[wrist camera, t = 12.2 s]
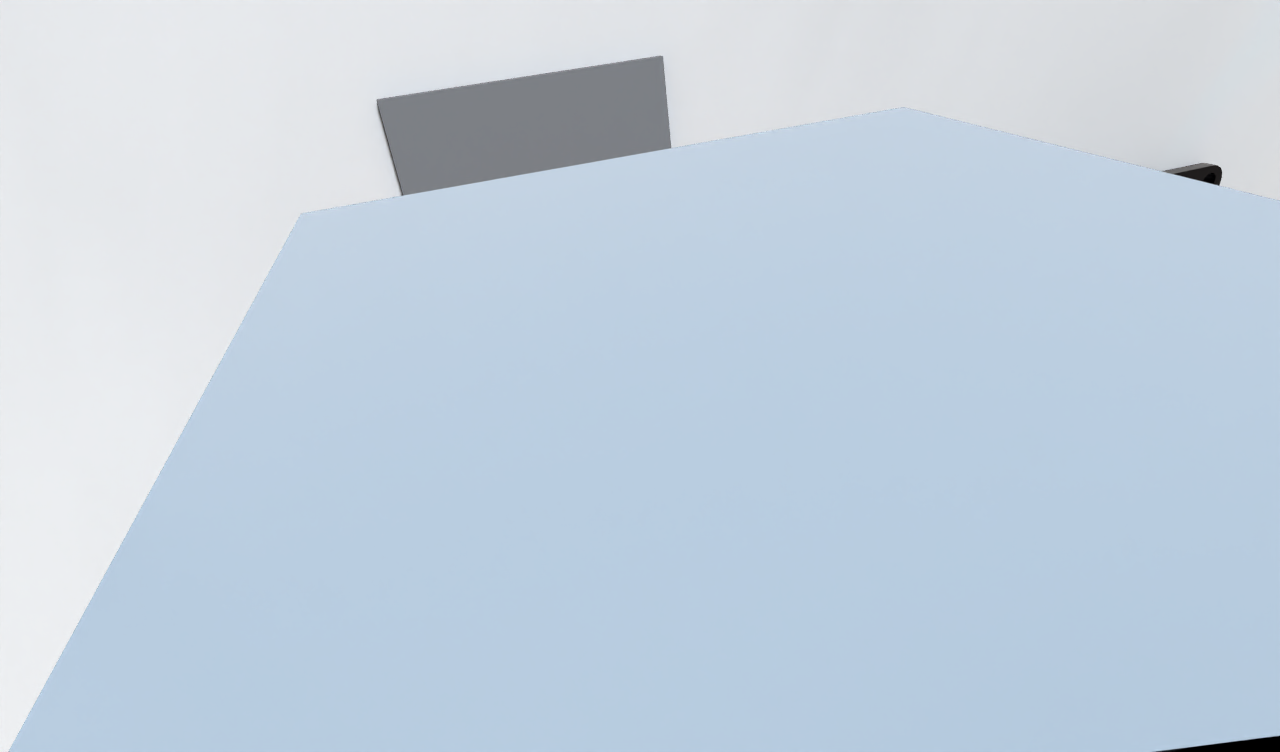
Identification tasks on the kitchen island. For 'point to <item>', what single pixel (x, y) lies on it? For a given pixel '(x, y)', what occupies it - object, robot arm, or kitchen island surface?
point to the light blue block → (724, 468)
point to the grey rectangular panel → (526, 124)
